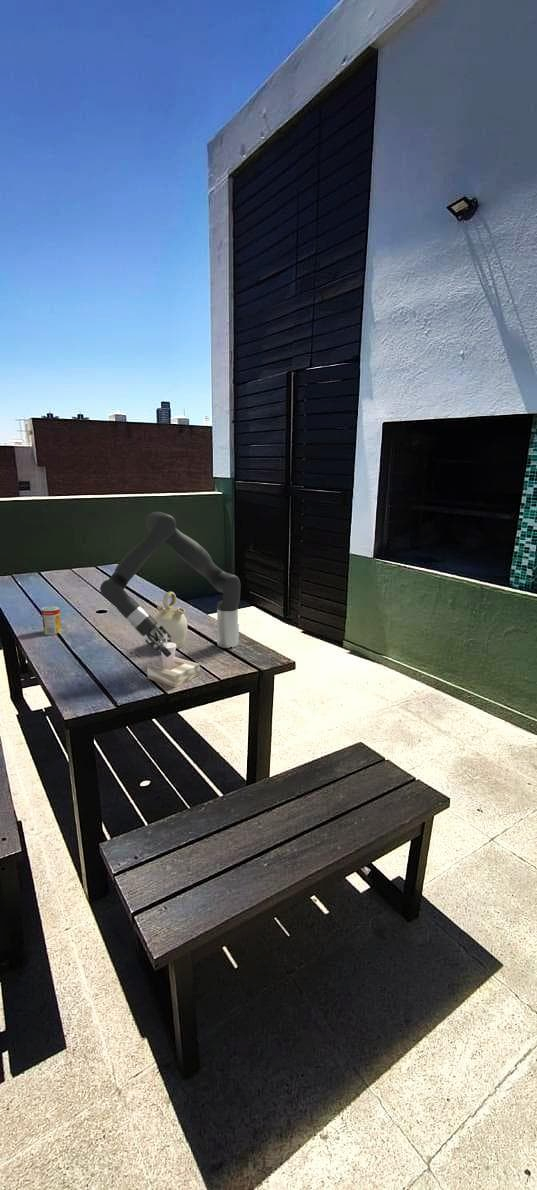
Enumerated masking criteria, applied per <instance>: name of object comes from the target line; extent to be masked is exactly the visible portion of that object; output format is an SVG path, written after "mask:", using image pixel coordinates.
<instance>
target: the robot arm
mask: <svg viewBox="0 0 537 1190" xmlns="http://www.w3.org/2000/svg"><path fill="white" fill-rule="evenodd" d="M145 525H146V528H147V530H148V531H149V533H148V534H147V536H146V537H145V538H144V539H143V540H142V541H141V542H140V543H139V544H138V545H136V546H135V547H134V548H132V549H131V550H130V551H129V552H128V553H127V554H126V555H125V556H124V557H123V558H122V559H121V561H120V562H119V563H118V564H117V566H116V567H115V569H114V572H113V573H112V574H111V576H110V577H109V578H108V579H106V580H104V581H102V582H101V584H100V589H99V591H100V593H101V595H102V597H104V598H105V599H106V600H107V601H108V602H109V603H110V604H111V605H113V607H115V609H117V611H118V612H119V613H120V614H121V615H122V616H123V617H124V618H125V619H126V620H127V622H128V623H129V624H130V625H131V626H132V627H133V628H134V629H135V630H136V631H137V632H138V634H140V635H141V637H144V636H147V638H146V639H145V643H147V644H148V646H150V647H151V648H152V649H153V650H154V651H155V652H158V651H159V652H160V653H161V652H162V653H163V654H164V655H165V656H166V657H169V656H170V655H171V652H170V651H169V650H168V649H167V648H166V647H164V645H163V643H162V641H163V642H166V634H167V642H172V641H171V635H170V634H169V633H168V632H167V631H166V630H165V629H164V627H163V626H160V627H159V628H158V627H157V626H156V624H157V622H156V621H155V620H154V617H152V615H151V614H150V613H148V612H147V610H146V609H144V608H143V607H142V606H141V605H140V604H139V603H138V602H137V601H136V600H135V599H134V598H133V597H132V596H130V595H129V594H128V593H127V591H125V588H126V587H127V586H128V584H129V582H130V581H131V579H133V577H134V576H135V575H136V573H137V572H138V571H139V570H140V568H141V567H142V566H143V564H144V563H145V562H146V561H147V560H148V559H149V558H150V557H151V555H152V554H153V553H154V552H155V551H157V550H158V549H159V547H160V546H162V545H163V544H164V543H165V544H166V545H168V547H170V548H171V549H172V550H173V551H174V553H176V555H178V556H179V557H180V558H181V559H182V560H183V561H184V562H185V563H187V565H188V566H190V568H192V569H193V570H195V571H196V572H197V573H199V574H200V575H201V576H202V577H204V578H205V579H206V580H207V581H208V582H209V584H210V585H211V586H212V587H213V588H214V589H215V590H216V591H217V592H219V593H221V594H222V600H219V601H218V602H217V604H216V607H217V608H216V613H217V614H216V618H217V619H216V620H217V621H216V623H217V625H216V627H217V636H216V638H217V647H220V648H223V649H230V647H232V648H235V647H237V646H238V644H239V639H240V638H239V636H240V635H239V633H240V631H239V630H240V629H239V628H240V626H239V625H240V624H239V618H238V617H239V604H240V602H241V601H240V599H241V587H242V586H241V585H242V584H241V581H240V578H239V576H237V575H235V574H232V573H228V572H226V571H224V570H223V569H222V568H220V567H219V566H217V565H216V563H214V561H213V559H212V557H211V555H210V554H209V552H208V551H207V550H206V548H204V547H203V546H202V545H200V544H199V542H197V541H195V540H194V539H192V538H191V537H189V536H188V535H186V534H184V533H183V532H181V531H180V530H179V529H178V528H177V522H176V519H175V518H174V517H173V516H172V515H171V514H168V513H165V512H161V511H152V512H150V513H149V514H148V515H147V517H146V520H145ZM172 643H173V642H172ZM176 648H177V647H176ZM177 649H178V648H177Z"/></svg>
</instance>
